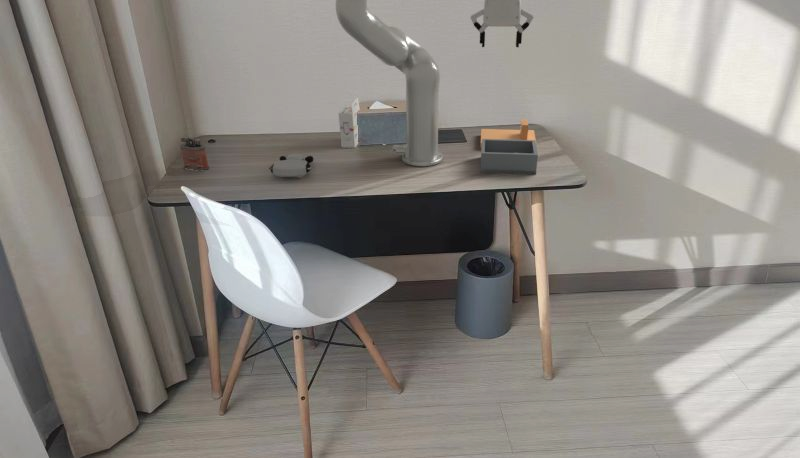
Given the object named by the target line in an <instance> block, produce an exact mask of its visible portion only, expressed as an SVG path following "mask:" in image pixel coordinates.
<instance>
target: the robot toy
mask: <svg viewBox="0 0 800 458" xmlns="http://www.w3.org/2000/svg"><path fill="white" fill-rule="evenodd" d="M314 160H316V156H313V155H307V156H306V157H304V155H303V154H302V153H290V154H288V155H287V156H284V155H281V156H279V159H278V160H277V161H275V162H274V163H272V165H271V166H270V167H267V168H266V170H270V172H271V173H272V174H273V175H274V176H275V177H279V178H281V177H285V178H298V179H299V177H300V178H303V177H304V176H306V175H307V174H308V173H309V172H310V171H311V170H312V168H313V167H312V166H311V163H313V162H314Z"/></svg>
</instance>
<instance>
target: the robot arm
mask: <svg viewBox="0 0 800 458" xmlns="http://www.w3.org/2000/svg"><path fill="white" fill-rule="evenodd" d="M367 3H368V0H335V12H336V17H337V21H338V22H339V24H340V25H341V27H342V29H343V30H344V31H345V32H346V33H347V34H348V35H349V36H350V37H352V38H353V39H354V40H355V41H357V43H359V44H360V45H361V46H362V47H364V49H366V50H367V51H369V52H370V53H371V54H372V55H373V56H374V57H376V58H378V60H380V62H382V63H383V64H385V65H387V66H391V67H395V69H397V70H399V71H400V72H401V73H403V74H404V75H405V82H406V83H405V84H406V85H405V87H406V88H405V111H406V112H405V113H406V144H405V143H404V144H403V145H402V144H400V145H399V144H393V145H392V151H393V152H395V154H402V156H401V159H402V161H403V163H404V164H407V165H410V166H415V167H431V166H434V165H437V164H439V163H441V162H442V161H443V158H444V154H443V153H442V152H441V151H439V91H440V79H441V78H440V77H441V76H440V75H441V74H440V68H439V66H438V63H437V62H436V60H435V59H434V57H433V56H432V55H431V53H430V52H429V51H428V50H427V49H425V48H424V47H423V46H422V45H420V44H419V43H418V42H416V41H415V40H414V39H413V38H411V37H410V36H409V35H408V34H407V33H405V32H404V31H402V30H401V29H400V28H398V27H395V26H389V25H388V24H386V23H385V22H383V21H382V19H380V18H379V17H378V16H376V15H375V14H374V13H372V11H370V10H369V8H368V5H367ZM521 16H522V17H524V18H526V20H525V22H524V23H523V24H522V25H521ZM480 17H483V18H482V20H483V23H482V24H480V22H479V21H478V18H480ZM533 19H534V15H533V14H531V13H529V12H528V11H526V10H524V9H523V8H522V0H484V3H483V9H481V10H479V11H477V12H475V13H473V14H471V15H470V20H471V22H472V24H473V27H475V28H476V30H477V31H478V32H479V44H481V47H482V48H485V45H486V44H485V42H486V40H485V38H486V31H485V30H486V29H487V28H488V27H505V28H507V27H508V28H510V27H515V28H516V29H517V31H516V35H515V36H516V37H515V47H516V48H520V45H521V44H522V39H523V32H524V31H525V30H527V28H528V27H529V26H530V24H531V23H532V21H533Z"/></svg>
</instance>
